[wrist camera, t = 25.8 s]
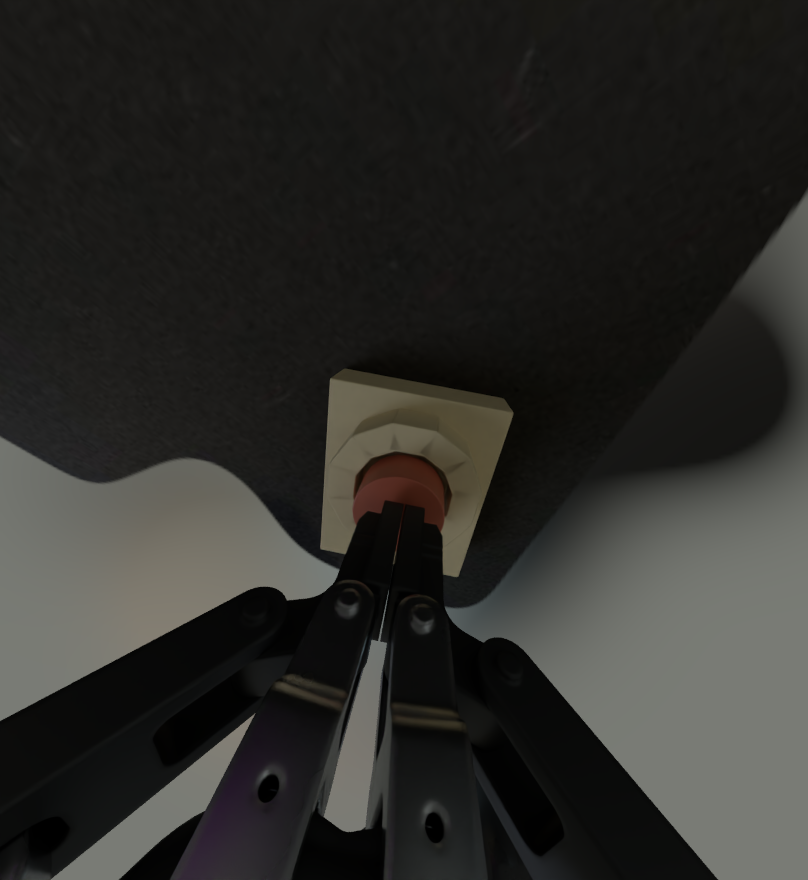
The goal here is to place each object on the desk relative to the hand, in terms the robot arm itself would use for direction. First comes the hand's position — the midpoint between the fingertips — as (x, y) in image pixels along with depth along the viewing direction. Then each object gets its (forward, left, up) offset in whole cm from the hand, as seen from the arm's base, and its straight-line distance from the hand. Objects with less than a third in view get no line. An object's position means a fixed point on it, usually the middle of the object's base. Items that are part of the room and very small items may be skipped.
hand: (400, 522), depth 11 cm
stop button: (0, 0, -2) cm, 2 cm away
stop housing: (-1, 0, -6) cm, 6 cm away
